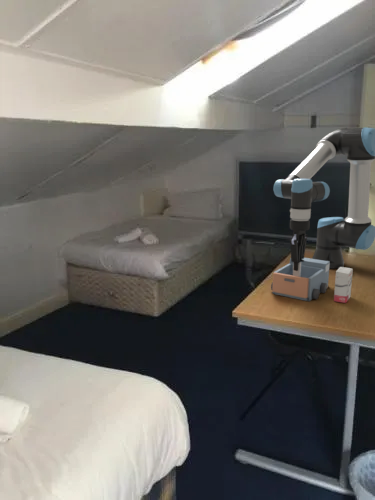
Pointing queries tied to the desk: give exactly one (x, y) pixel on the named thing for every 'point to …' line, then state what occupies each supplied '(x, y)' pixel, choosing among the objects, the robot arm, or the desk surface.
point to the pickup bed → (313, 271)
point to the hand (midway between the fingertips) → (296, 277)
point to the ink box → (343, 284)
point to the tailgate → (290, 285)
